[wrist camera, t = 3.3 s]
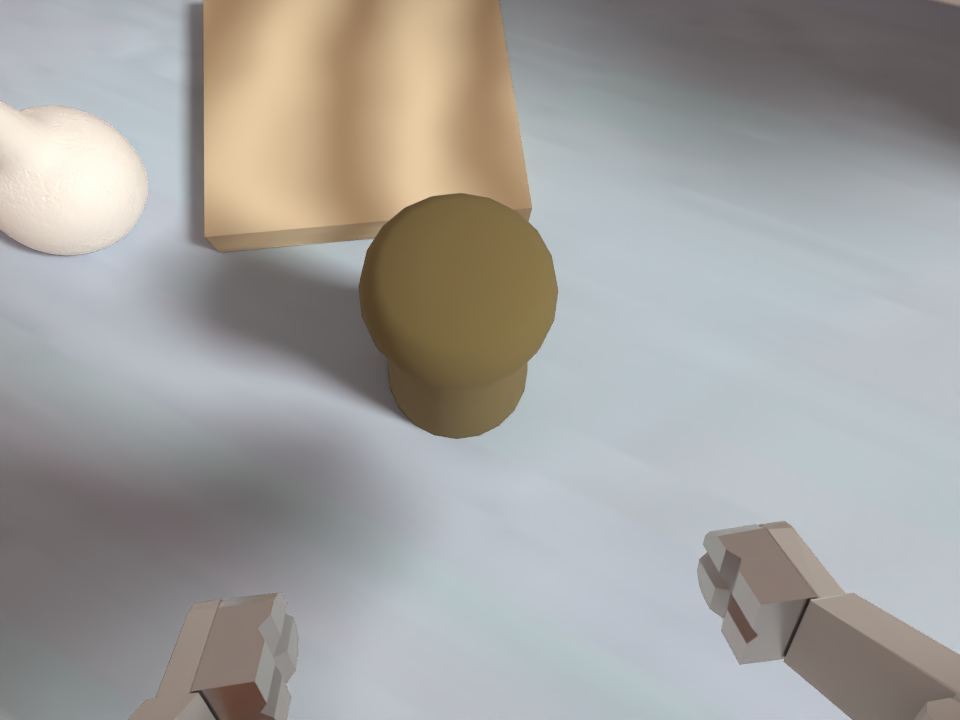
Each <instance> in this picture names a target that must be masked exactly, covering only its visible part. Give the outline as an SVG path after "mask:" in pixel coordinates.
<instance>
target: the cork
mask: <svg viewBox="0 0 960 720" xmlns="http://www.w3.org/2000/svg"><path fill="white" fill-rule="evenodd" d="M359 293H360V303H361V312H362V318H363V320H364V322H365V324H366V326H367V328H368V330H369V333H370V335H371V337H372V339H373V341H374V343H375V345H376V347H377V348H378V350H379V351H380V352H381V353H382V354H383V355H384V356H385V357H386V358H387V359H388V373H389V381H390V389H391V391H392V394H393V396H394V398H395V400H396V402H397V404H398V406H399V408H400V410H401V411H402V412H403V413H404V414H405V415H406V416H407V417H408V418H409V419H410V420H411V421H412V422H413V423H414V424H415V425H417V426H418V427H420V428H422V429H424V430H426V431H428V432H430V433H432V434H434V435H437V436H443V437H449V438H455V439H459V438H466V437H473V436H479V435H481V434H483V433H485V432H487V431H489V430H491V429H493V428H495V427H497V426H499V425H500V424H501V423H502V422H503V421H504V420H505V419H506V418H507V417H508V416H509V415H510V414H511V413H512V412H513V411H514V410H515V408H516V406H517V404H518V402H519V400H520V398H521V396H522V394H523V392H524V389H525V382H526V375H527V362H528V361H529V360H530V359H531V358H532V357H533V356H534V355H535V354H536V353H537V352H538V350H539V349H540V347H541V345H542V343H543V341H544V339H545V337H546V335H547V333H548V331H549V329H550V327H551V325H552V324H553V322H554V317H555V310H556V303H557V296H558V287H557V281H556V276H555V271H554V266H553V261H552V256H551V254H550V252H549V250H548V249H547V247H546V245H545V243H544V241H543V240H542V238H541V236H540V234H539V233H538V231H537V230H536V229H535V228H534V227H533V226H532V225H531V224H530V223H529V222H528V221H527V220H525V219H524V218H523V217H522V216H521V215H520V214H519V213H518V212H517V211H515V210H513V209H511V208H509V207H507V206H505V205H503V204H501V203H499V202H497V201H495V200H493V199H491V198H488V197H482V196H476V195H470V194H464V193H455V194H446V195H438V196H431V197H429V198H426V199H424V200H422V201H419V202H417V203H414V204H412V205H410V206H407V207H405V208H404V209H402V210H401V211H400V212H399V213H398V214H396V215H395V216H394V217H393V218H392V219H390V220H389V221H388V222H387V223H386V224H384V225H383V226H382V228H381V229H380V231H379V232H378V234H377V235H376V237H375V239H374V240H373V242H372V243H371V245H370V247H369V248H368V250H367V253H366V257H365V261H364V265H363V269H362V274H361V278H360V283H359Z"/></svg>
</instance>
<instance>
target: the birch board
mask: <svg viewBox="0 0 960 720" xmlns="http://www.w3.org/2000/svg"><path fill="white" fill-rule="evenodd" d="M203 36H204V237H205V238H206V239H207V240H208V241H209V242H210V243H211V244H212V245H213V246H214V247H215V248H216V249H217V250H218V251H219V252H229V251H240V250H251V249H262V248H273V247H284V246H295V245H306V244H317V243H328V242H339V241H350V240H361V239H372V238H375V237H376V235H377V234H378V232H379V231H380V229H381V228H382V226H383V225H384V224H386V223H387V222H388V221H389V220H390V219H392V218H393V217H394V216H395V215H396V214H398V213H399V212H400V211H401V210H402V209H404V208H405V207H407V206H410V205H412V204H414V203H417V202H419V201H422V200H424V199H426V198H429V197H431V196H438V195H446V194H455V193H464V194H470V195H476V196H482V197H488V198H491V199H493V200H495V201H497V202H499V203H501V204H503V205H505V206H507V207H509V208H511V209H513V210H515V211H517V212H518V213H519V214H520V215H521V216H522V217H523V218H524V219H525V220H527V221H529V217H530V213H531V210H532V205H531V198H530V192H529V186H528V180H527V173H526V167H525V161H524V154H523V148H522V142H521V136H520V129H519V123H518V117H517V111H516V104H515V98H514V92H513V86H512V79H511V73H510V67H509V60H508V54H507V48H506V42H505V35H504V29H503V23H502V17H501V10H500V4H499V0H203Z"/></svg>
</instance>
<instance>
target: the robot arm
mask: <svg viewBox="0 0 960 720" xmlns="http://www.w3.org/2000/svg"><path fill="white" fill-rule="evenodd" d="M703 545H704V547H705V549H706V551H707V553H706V554H705V555H704V556H702V557H701V558H700V559H699V564H698V569H697V574H698V581H699V586H700V589H701V592H702V594H703V597H704V599H705V601H706V603H707V605H708V607H709V609H711V610H712V611H714V612H715V613H716V614H718V615H719V616H721V617H722V618H723V622H722V628H721V631H722V633H723V635H724V637H725V639H726V640H727V642H728V644H729V646H730V648H731V650H732V652H733V653H734V655H735V657H736V659H737V661H738V663H739V665H741V664H748V663H756V662H764V661H772V660H779V659H784V662H785V663H786V664H787V665H788V666H789V667H791V668H792V669H793V670H794V671H795V672H797V673H798V674H799V675H800V676H801V677H803V678H804V679H805V680H806V681H807V682H808V683H810V684H811V685H812V686H813V687H814V688H816V689H817V690H818V691H819V692H820V693H821V694H823V695H824V696H825V697H826V698H827V699H829V700H830V701H831V702H832V703H833V704H834V705H836V706H837V707H838V708H839V709H840V710H842V711H843V712H844V713H845V714H846V715H848V716H849V717H850V718H851V719H852V720H960V655H959V654H957V653H956V652H954V651H952V650H950V649H949V648H947V647H945V646H944V645H942V644H940V643H938V642H937V641H935V640H933V639H932V638H930V637H928V636H926V635H925V634H923V633H921V632H920V631H918V630H916V629H914V628H913V627H911V626H909V625H908V624H906V623H904V622H903V621H901V620H899V619H897V618H896V617H894V616H892V615H891V614H889V613H887V612H885V611H884V610H882V609H880V608H879V607H877V606H875V605H873V604H872V603H870V602H868V601H867V600H865V599H863V598H861V597H860V596H858V595H856V594H855V593H849V594H846V593H845V592H844V591H843V589H842V588H841V587H840V586H839V584H838V583H837V582H836V581H835V579H834V578H833V577H832V576H831V574H830V573H829V572H828V571H827V569H826V568H825V567H824V566H823V564H822V563H821V562H820V561H819V559H818V558H817V557H816V556H815V554H814V553H813V552H812V551H811V549H810V548H809V547H808V546H807V544H806V543H805V542H804V541H803V539H802V538H801V537H800V536H799V534H798V533H797V532H796V531H795V529H794V528H793V527H792V526H791V525H790V524H788V523H787V522H785V521H780V522H773V523H767V524H761V525H756V524H755V525H748V526H742V527H736V528H729V529H723V530H716V531H710V532H709V533H708V534H706V535H705V539H704V542H703ZM286 608H287V601H286V599H285V597H284V595H283V592H280V593H272V594H264V595H255V596H247V597H238V598H230V599H221V600H213V601H206V602H199V603H195V604H194V605H193V607H192V608H191V609H190V611H189V612H188V614H187V616H186V619H185V621H184V624H183V627H182V629H181V632H180V635H179V637H178V640H177V643H176V645H175V648H174V651H173V653H172V656H171V658H170V661H169V664H168V666H167V669H166V672H165V674H164V677H163V680H162V682H161V685H160V688H159V690H158V693H157V695H156V698H154V699H149V700H146V701H145V702H144V703H143V704H142V705H141V706H140V707H139V708H138V709H137V710H136V711H135V713H134V714H133V715H132V716H131V717H130V718H129V719H128V720H287V717H288V711H289V706H290V700H291V695H290V693H289V691H288V689H287V686H286V682H287V681H288V680H289V679H290V677H291V676H292V675H293V673H294V672H295V671H296V665H297V658H298V632H297V626H296V623H295V621H294V618H293V617H291V616H289V615H287V614H286Z"/></svg>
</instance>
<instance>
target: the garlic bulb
mask: <svg viewBox="0 0 960 720" xmlns="http://www.w3.org/2000/svg"><path fill="white" fill-rule="evenodd" d="M147 195H148V179H147V174H146V170H145V167H144V165H143V163H142V161H141V159H140V157H139V155H138V153H137V152H136V150H135V149H134V148H133V146H132V145H131V144H130V143H129V141H128V140H127V139H126V138H125V137H124V136H123V135H122V134H121V133H120V132H118V131H117V130H116V129H115V128H114V127H112V126H111V125H109V124H108V123H106V122H105V121H103V120H102V119H100V118H98V117H96V116H93V115H91V114H89V113H86V112H84V111H80V110H77V109H73V108H69V107H63V106H41V107H32V108H27V109H23V110H20V111H18V110H16V109H14V108H12V107H11V106H9V105H7V104H5V103H4V102H2V101H0V229H1V230H2V231H3V232H4V233H5V234H7V235H8V236H10V237H11V238H13V239H14V240H16V241H17V242H19V243H21V244H23V245H25V246H27V247H30V248H32V249H35V250H38V251H41V252H45V253H49V254H55V255H80V254H87V253H92V252H95V251H98V250H101V249H104V248H106V247H108V246H110V245H112V244H114V243H116V242H117V241H118V240H120V239H121V238H123V237H124V236H126V234H127V233H128V232H130V230H131V229H132V228H133V227H134V226H135V225H136V223H137V222H138V220H139V218H140V216H141V214H142V212H143V210H144V208H145V205H146V200H147Z"/></svg>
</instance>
